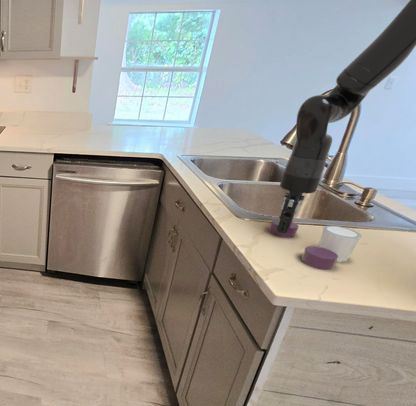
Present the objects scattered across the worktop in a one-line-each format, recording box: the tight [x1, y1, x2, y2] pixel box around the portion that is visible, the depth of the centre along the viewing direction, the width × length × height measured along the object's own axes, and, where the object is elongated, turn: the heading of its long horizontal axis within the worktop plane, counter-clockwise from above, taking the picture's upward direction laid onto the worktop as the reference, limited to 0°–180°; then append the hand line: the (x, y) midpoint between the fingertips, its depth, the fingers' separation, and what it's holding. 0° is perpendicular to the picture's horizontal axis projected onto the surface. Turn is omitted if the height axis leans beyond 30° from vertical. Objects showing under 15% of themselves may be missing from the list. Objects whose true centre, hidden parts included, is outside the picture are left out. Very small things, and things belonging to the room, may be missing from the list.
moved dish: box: [268, 218, 299, 239], centre depth 103 cm, size 6×6×3 cm
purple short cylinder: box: [300, 245, 338, 271], centre depth 89 cm, size 6×6×3 cm
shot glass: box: [318, 225, 362, 263], centre depth 90 cm, size 7×7×7 cm
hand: (284, 226), depth 103 cm, fingers open, 8 cm apart
